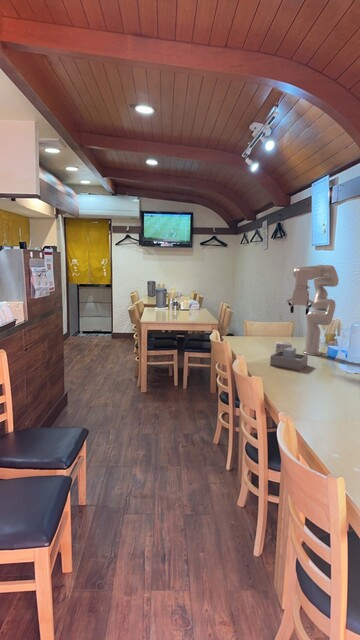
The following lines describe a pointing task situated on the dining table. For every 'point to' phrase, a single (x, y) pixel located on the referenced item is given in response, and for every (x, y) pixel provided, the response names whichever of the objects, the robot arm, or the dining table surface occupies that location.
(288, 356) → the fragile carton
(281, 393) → the dining table surface
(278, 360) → the tote
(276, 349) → the light bulb box
